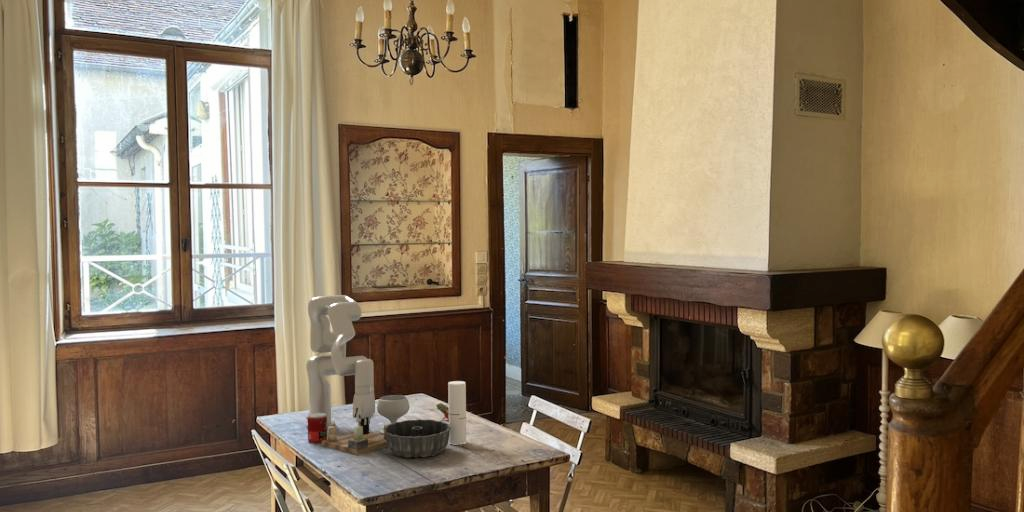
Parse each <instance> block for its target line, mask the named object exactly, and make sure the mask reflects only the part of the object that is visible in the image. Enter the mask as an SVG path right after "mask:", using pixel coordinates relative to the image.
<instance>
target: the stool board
mask: <svg viewBox="0 0 1024 512" xmlns="http://www.w3.org/2000/svg"><path fill="white" fill-rule="evenodd" d="M357 424H358V425H357V426H360V423H359V422H357ZM390 424H391V423H388V424H387V423H386V424H383V429H384V428H386V426H387V425H390ZM337 432H338V431H337V426H336V425H334V426H330V427H328V428H327V440H324V441H322V442H321V447H324V448H328V449H332V450H336V451H339V452H344V453H349V454H351V455H356V456H360V455H363V454H365V453H369V452H374V451H375V450H376V451H377V450H380V449H383V448H386V447H388V446H387V442H386V436H385V433H384V434H381V433H378V432H374V431H370V430H369V434H363V439H365V440H361V441H358V442H357V441H356V440H354V432H351V433H347V434H343V435H340V436H339V435H337V434H338V433H337ZM368 438H372V441H373V443H371V444H368Z"/></svg>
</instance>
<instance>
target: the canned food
mask: <svg viewBox="0 0 1024 512" xmlns="http://www.w3.org/2000/svg"><path fill="white" fill-rule="evenodd" d="M307 416H308V417H307V422H306V423H308V427H307V441H308V442H309V443H311V444H320V443H321V444H322V441H324V440H328V428H327V414H325V413H311V414H309V413H308V414H307Z"/></svg>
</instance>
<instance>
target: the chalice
mask: <svg viewBox="0 0 1024 512" xmlns="http://www.w3.org/2000/svg"><path fill="white" fill-rule="evenodd" d="M376 410H377V413H378V415H380V416H381V417H383V418H386V419H387V420H388V421H390V424H394V423H395V422H398V420H399V419H400V418H402V417H403V416H405V415H407V413H408V412H409V410H410V403H409V399H408V398H407V396H405V395H402V394H390V395H383V396H380V397H379V399H378V401H377V404H376ZM383 429H384V428H382V429H380V430H379V434H383V435H384V430H383Z"/></svg>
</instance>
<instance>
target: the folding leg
mask: <svg viewBox="0 0 1024 512" xmlns="http://www.w3.org/2000/svg"><path fill="white" fill-rule="evenodd" d="M353 433H354V440H356V441H357V442H358V441H361V440H365V439H363V426H358V425H356V426H355V425H354V426H353ZM371 443H373V441H372V438H368V444H371Z"/></svg>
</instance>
